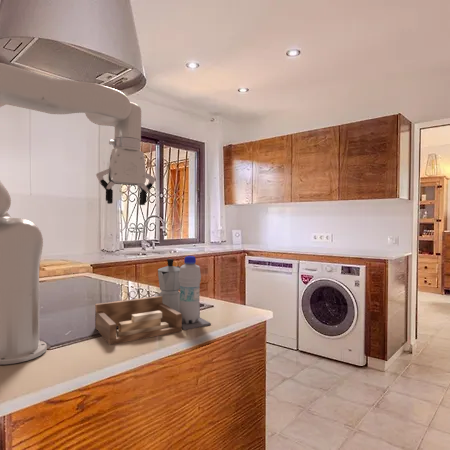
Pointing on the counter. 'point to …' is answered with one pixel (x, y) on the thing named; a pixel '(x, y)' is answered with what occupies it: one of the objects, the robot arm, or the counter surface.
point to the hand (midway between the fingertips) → (126, 204)
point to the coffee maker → (170, 285)
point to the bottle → (189, 290)
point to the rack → (123, 310)
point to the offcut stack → (142, 323)
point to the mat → (195, 324)
